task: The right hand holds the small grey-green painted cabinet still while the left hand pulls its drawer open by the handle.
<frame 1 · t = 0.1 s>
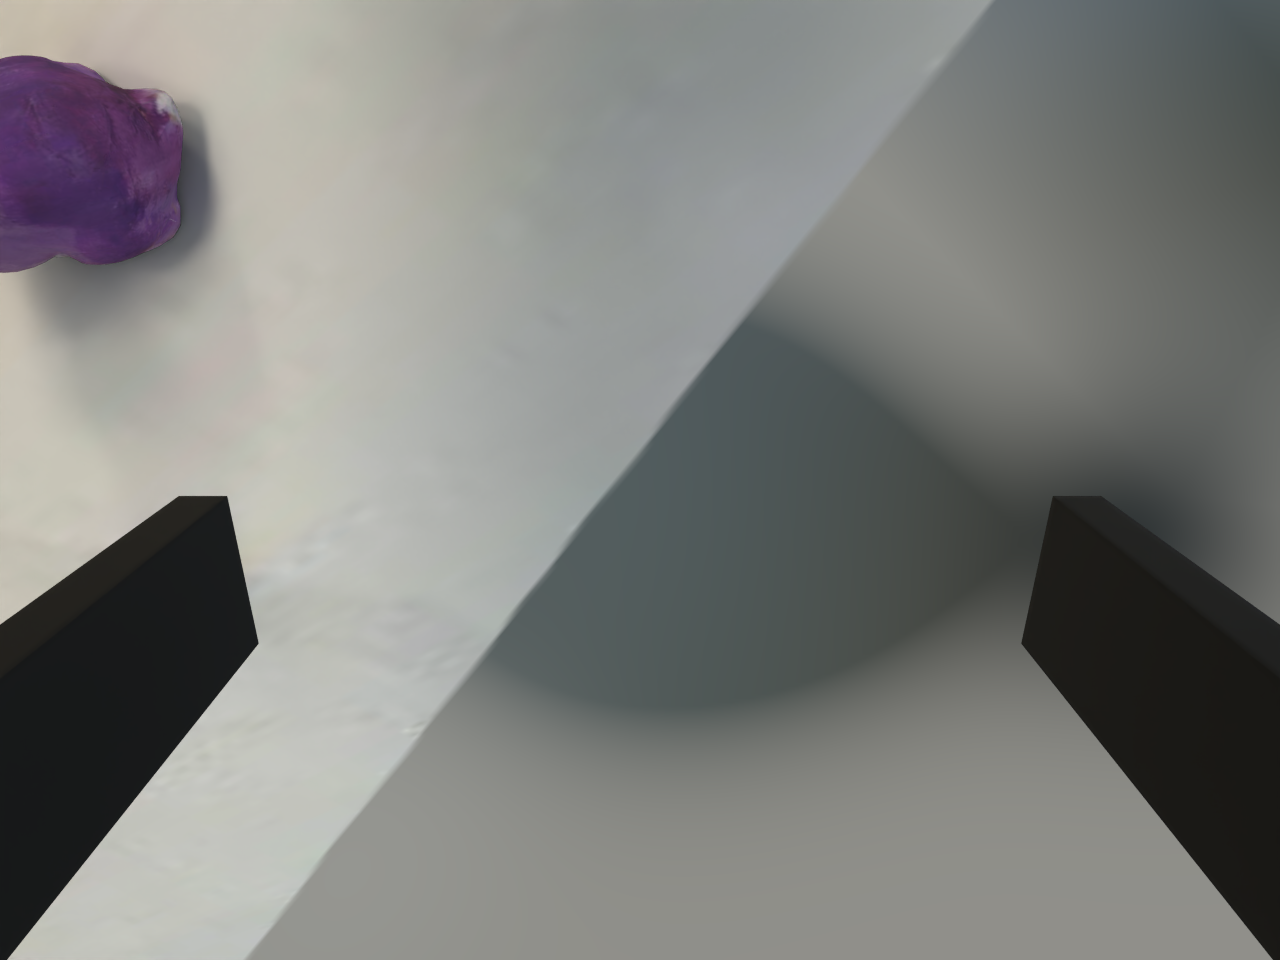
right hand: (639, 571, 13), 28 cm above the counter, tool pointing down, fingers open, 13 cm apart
figurine: (100, 186, 37), on the counter
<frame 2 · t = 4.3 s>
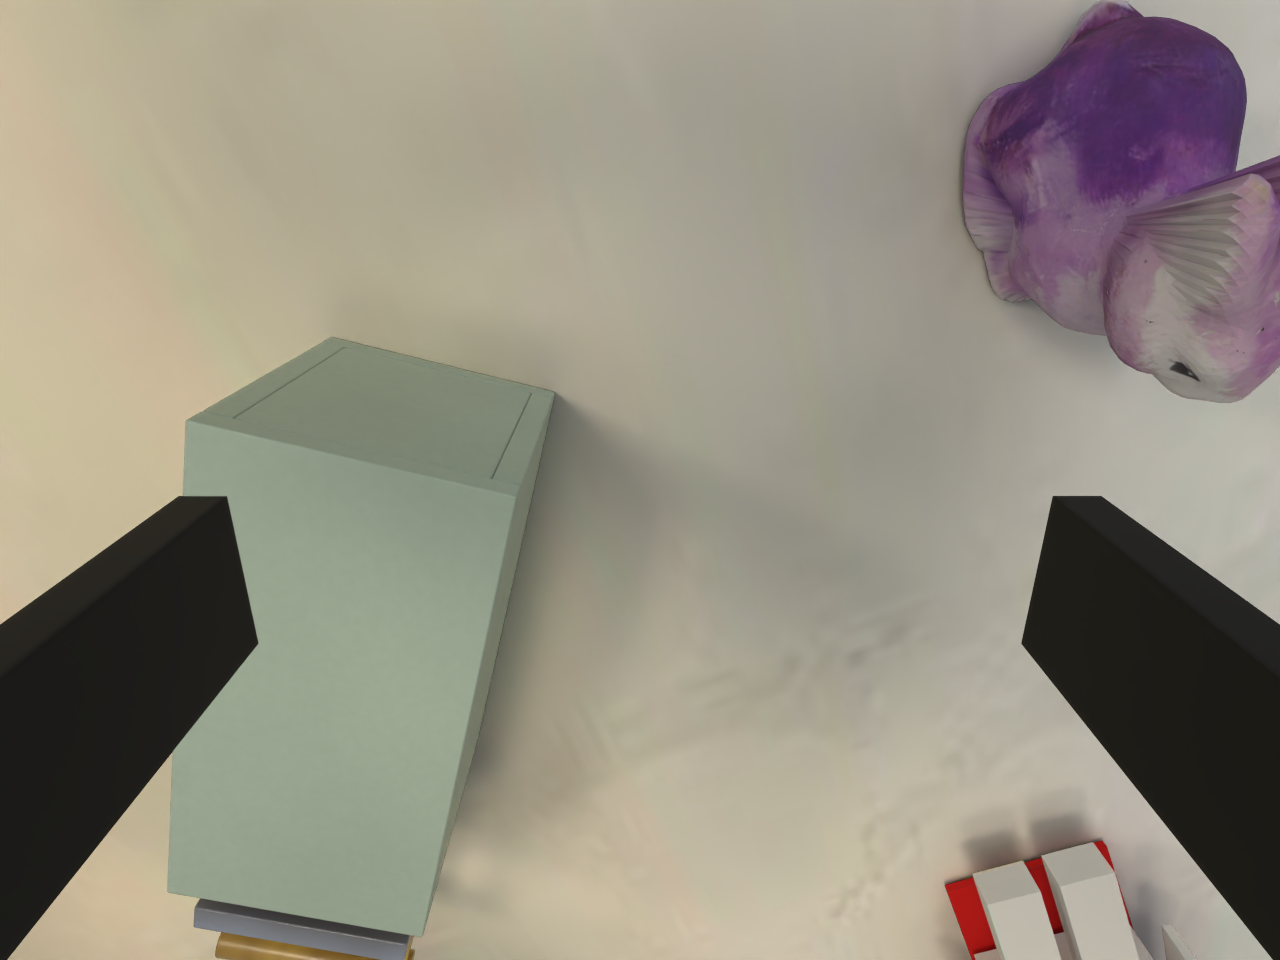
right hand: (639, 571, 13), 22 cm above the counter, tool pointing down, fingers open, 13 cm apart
cabinet: (412, 558, 38), on the counter
figurine: (1059, 189, 32), on the counter
drawer: (355, 749, 35), point 6 cm above the counter, slide at 1.9 cm
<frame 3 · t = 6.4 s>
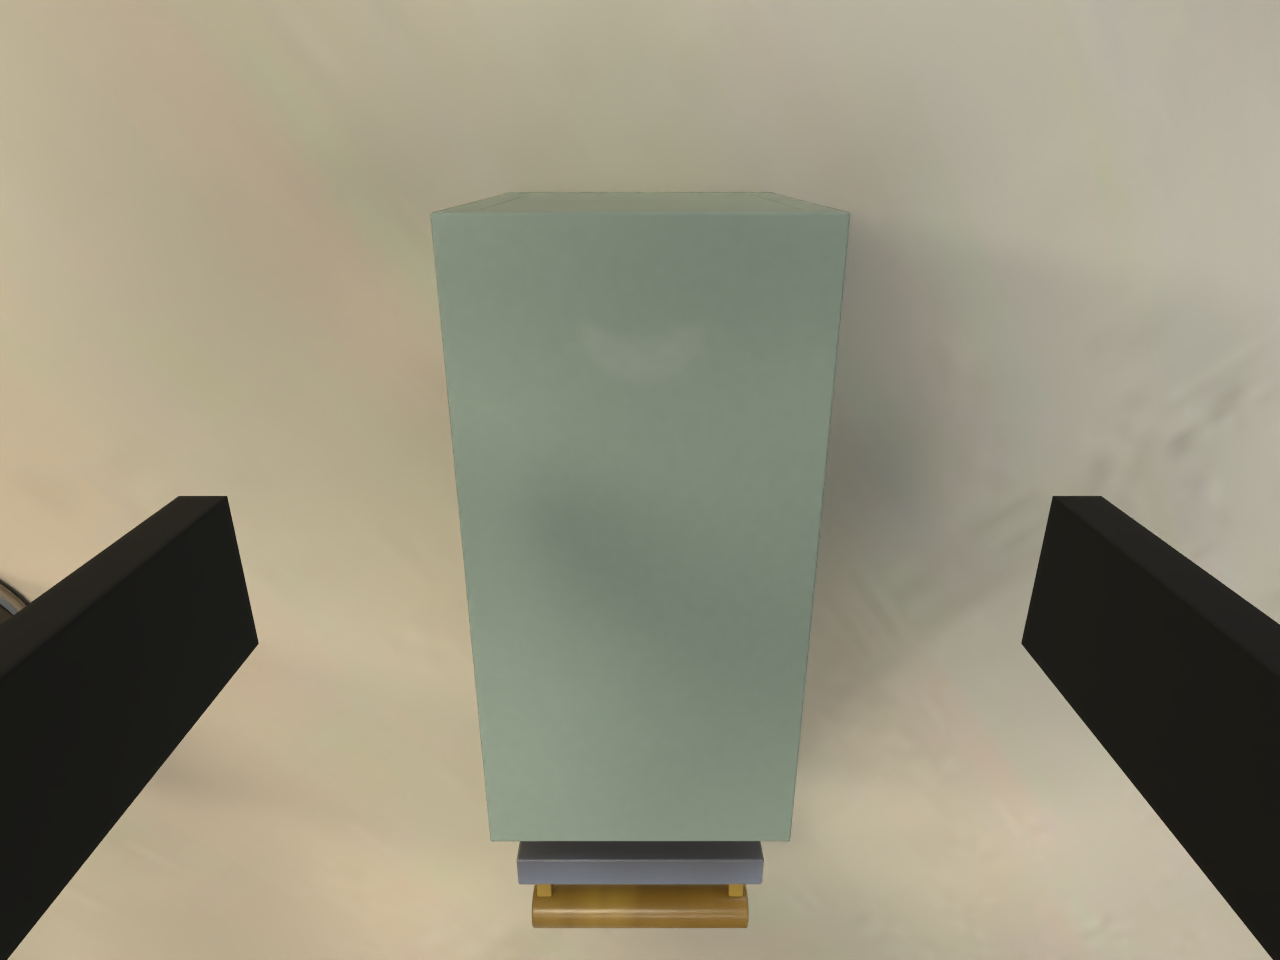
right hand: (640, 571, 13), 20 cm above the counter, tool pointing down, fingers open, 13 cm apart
cabinet: (640, 441, 33), on the counter
drawer: (640, 657, 30), point 6 cm above the counter, slide at 1.9 cm
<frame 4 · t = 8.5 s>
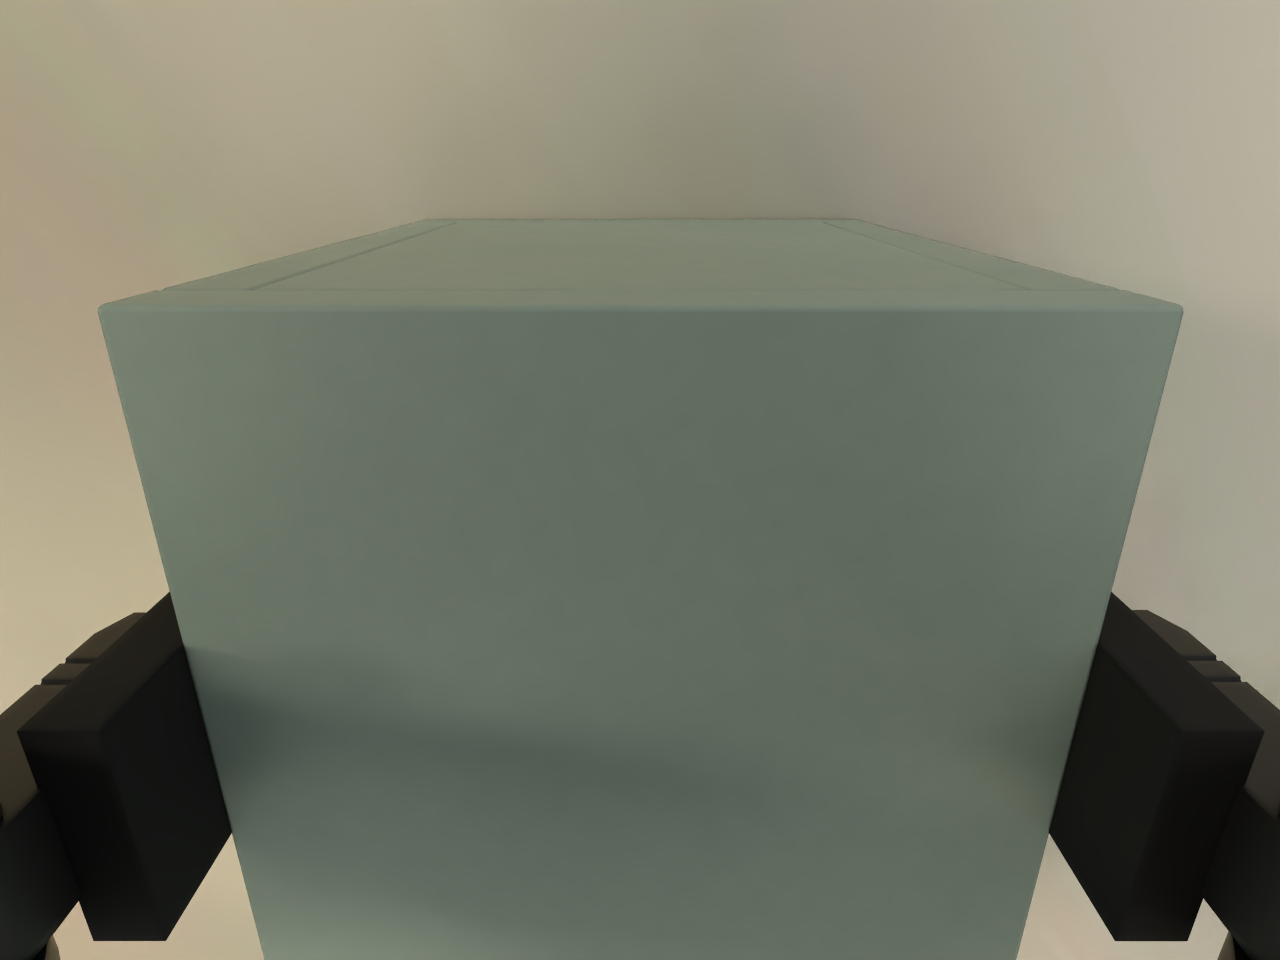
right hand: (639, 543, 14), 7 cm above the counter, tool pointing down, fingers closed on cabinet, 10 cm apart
cabinet: (640, 594, 22), on the counter, touching right hand
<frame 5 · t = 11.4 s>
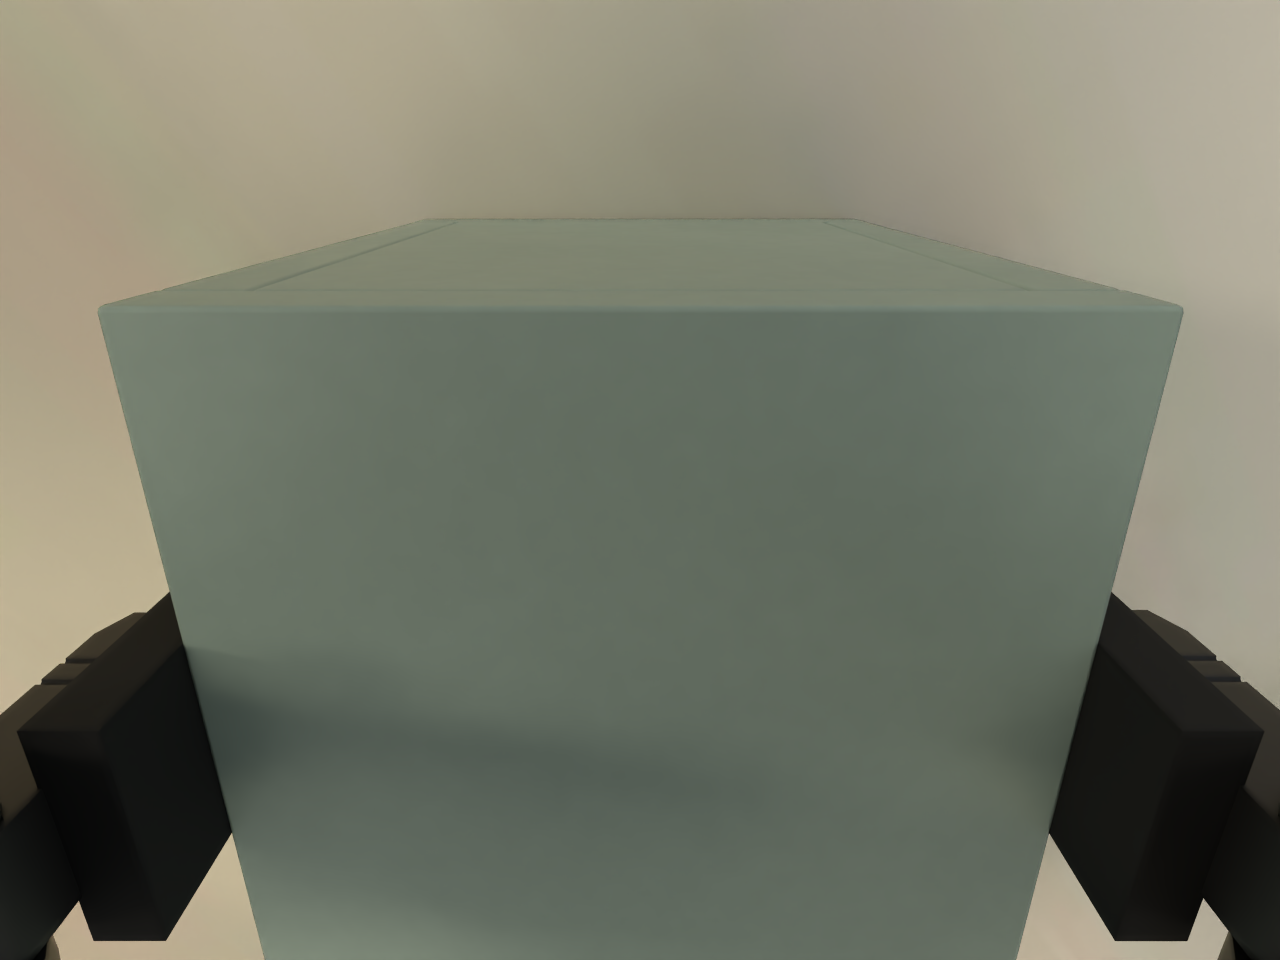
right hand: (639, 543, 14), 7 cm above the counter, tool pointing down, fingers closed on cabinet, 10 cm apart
cabinet: (640, 594, 22), on the counter, touching right hand
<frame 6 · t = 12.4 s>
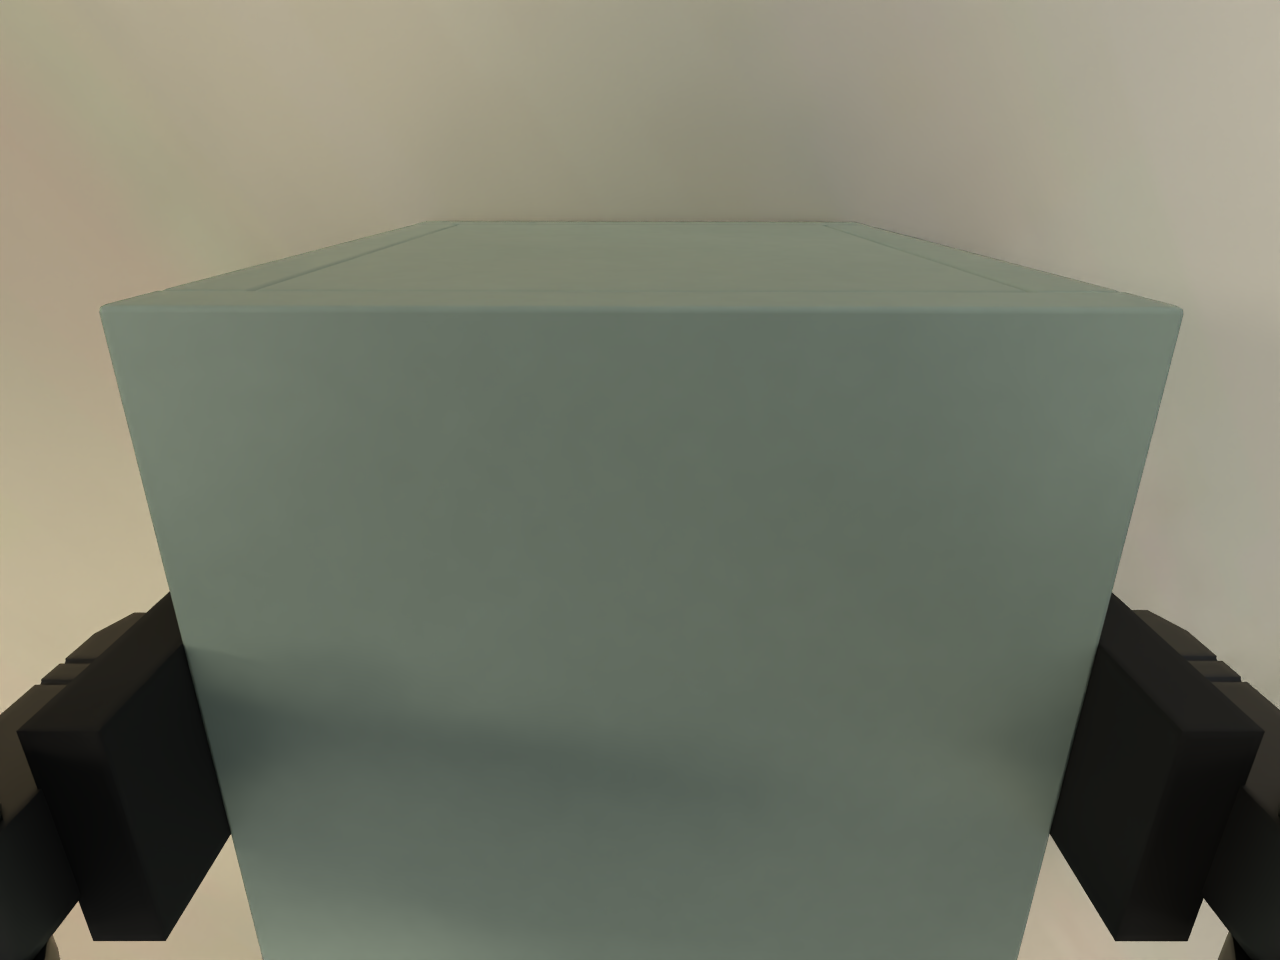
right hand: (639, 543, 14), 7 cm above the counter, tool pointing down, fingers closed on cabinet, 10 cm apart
cabinet: (639, 596, 22), on the counter, touching right hand
when the right hand's fingers open (7 cm above the counter, at t = 13.8 s): cabinet stays where it is, on the counter.
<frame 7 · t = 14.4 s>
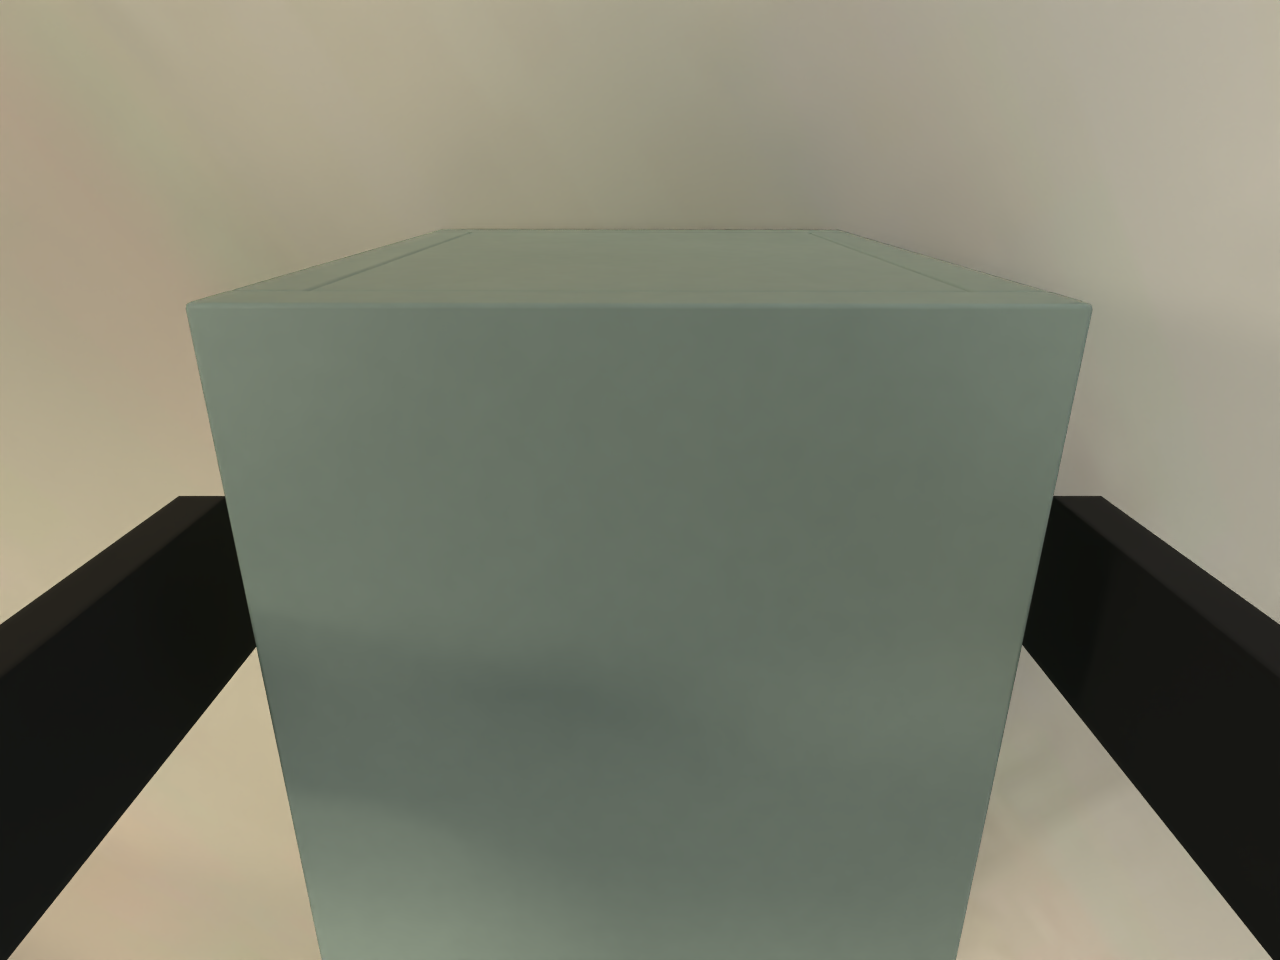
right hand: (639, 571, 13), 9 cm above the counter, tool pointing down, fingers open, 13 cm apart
cabinet: (639, 581, 23), on the counter
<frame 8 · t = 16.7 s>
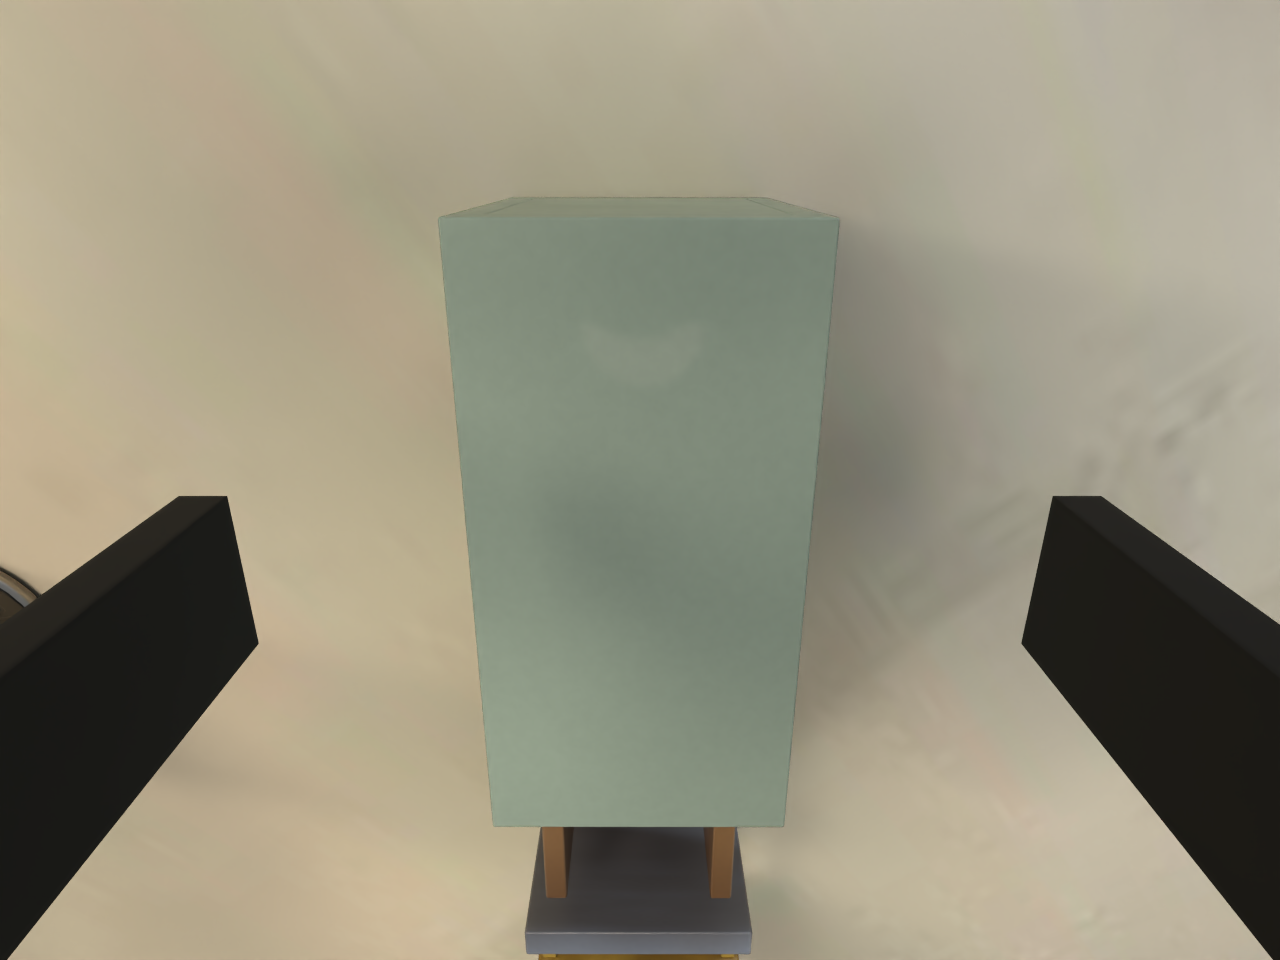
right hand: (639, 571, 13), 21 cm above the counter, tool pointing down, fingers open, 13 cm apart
cabinet: (639, 440, 34), on the counter
drawer: (638, 739, 32), point 6 cm above the counter, slide at 6.3 cm
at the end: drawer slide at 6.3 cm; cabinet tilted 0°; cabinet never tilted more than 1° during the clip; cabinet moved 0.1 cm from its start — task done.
